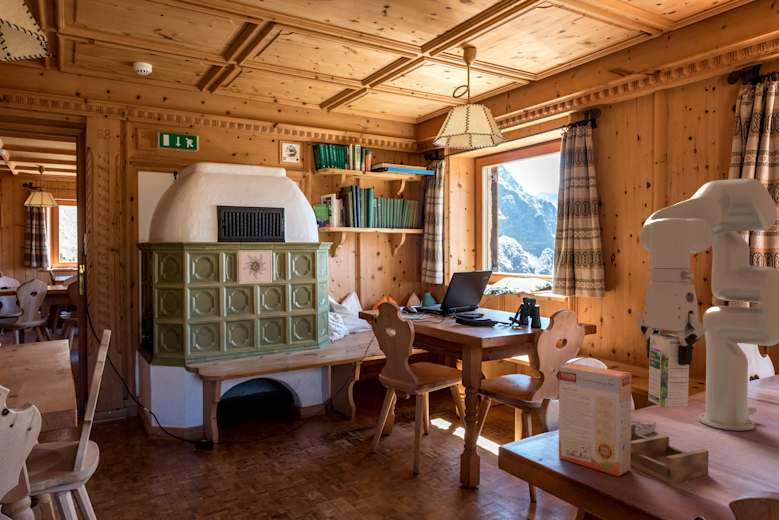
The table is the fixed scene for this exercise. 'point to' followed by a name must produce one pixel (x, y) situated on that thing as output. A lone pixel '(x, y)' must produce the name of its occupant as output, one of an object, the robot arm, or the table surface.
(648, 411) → the table surface
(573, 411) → the cracker box
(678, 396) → the syrup box
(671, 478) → the tray
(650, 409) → the table surface
